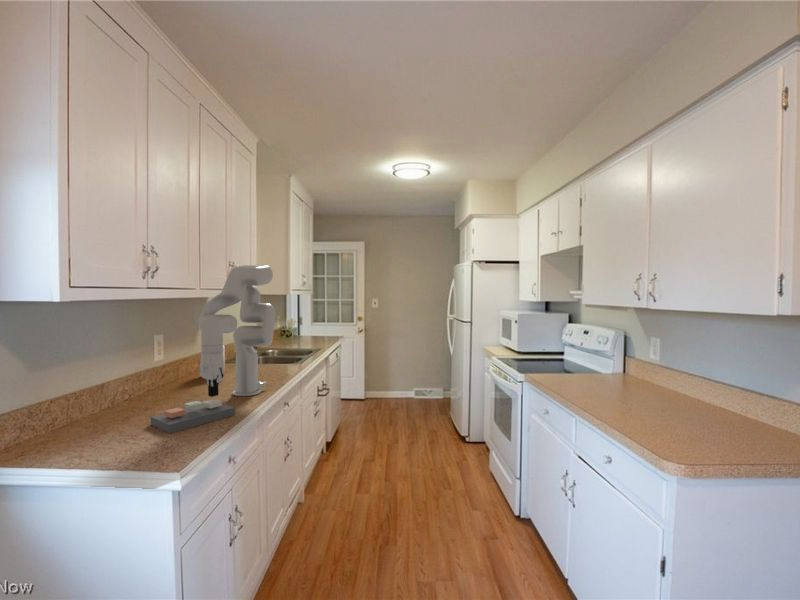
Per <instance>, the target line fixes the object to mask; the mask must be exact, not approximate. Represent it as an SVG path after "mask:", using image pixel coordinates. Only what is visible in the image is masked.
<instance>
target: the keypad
mask: <svg viewBox="0 0 800 600" xmlns="http://www.w3.org/2000/svg"><path fill="white" fill-rule="evenodd" d="M183 409H184V410H185V415H182V416H178V417H174V418H169V417H166V416H164V413H162V414H161V413H160V414H157V415H151V416H150V426H151V425H153V426H152V427H154V426H155V427H154V428H156V427H157V428H156V429H158V428H160V429H162V430H161V431H163V430H164V431H163V432H165V431H166V432H165V433H167V432H168V433H167V434H173V433H177V432H180V431H183V430H182V429H184V430H187V429H186V428H188V429H190V427H191V428H194V427H193V426H195V427H197V425H198V426H201V424H202V425H205V424H209V423H212V421H213V422H216V421H219V419H220V420H223V419H227V418H230V417H234V416H235V415H236V411H235V410H236V407H233V406H230V405H227V404H224V403H222V406H218V407H214V408H210V409H209V408H206V407H204V408H200V409H196V410H192V411H190V410H187V409H185V408H183ZM233 415H234V416H233ZM229 416H230V417H229ZM226 417H227V418H226ZM222 418H223V419H222ZM215 420H216V421H215ZM160 429H159V430H160ZM179 430H180V431H179ZM176 431H177V432H176ZM172 432H173V433H172Z"/></svg>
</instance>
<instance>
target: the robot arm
mask: <svg viewBox="0 0 800 600" xmlns="http://www.w3.org/2000/svg"><path fill="white" fill-rule="evenodd" d="M226 277H227V278H226V279H225V283H224V286H223V287H222V290H221V292H220V293H219V294H216V296H214V297H213V298H211V299H210V300H208V301H207V302H206V303H205V304H204V305H203V308H202V310H201V312H200V315H199V317H198V322H197V326H198V329H199V331H200V340H201V341H200V344H201V346H200V349H201V350H200V351H202V353H200V359H199V361H200V363H199V376H200V377H201V378H203V379H204V380H206V385H207V394H208V397H209V398H212V397H216V396H217V397H218V396H219V385H220V383H223V379H224V377H225V371H224V359H223V353H222V352H223V345H224V341H223V340H224V338H223V337H224V336H223V334H231V333H233V334H232V335H233V343H234V349H235V389H234V390H233V391H232V392H231V393H232V396H234V395H235V396H234V397H250V396H256V395H259V394H261V393H262V389H261V388H262V387H266V386H267V381H262V382H261V381H259V380H258V379H259V377H258V376H259V375H258V373H259V372H258V371H259V370H258V369H259V368H258V365H259V364H258V360H259V359H258V353H257V350H256V349H255V348H254V347H269V346H271V345H272V343H273V339H274V331H275V330H274V329H275V323H276V322H275V321H276V311H275V307H274V305H272V304H271V303H267V302H266V303H263V302H261V297H262V296H261V295H262V294H261V292H260V289H259V288H258V287H257V286H264V285H267V284H268V285H269V283H271V281H272V280H273V277H274V273H273V270H272V268H271V267H270V266H269V265H262V264H261V265H259V264H257V265H252V264H251V265H249V264H245V265H239V266H236V267H235V266H234V267H233V268H231V270H230V271H229V273H228V274H227V276H226ZM239 303H240V310H239V320H240V321H241V322H242V323H245V324H261V325H239V326H238V320H237V318H236V317H235V316H234V315H231V314H217V313H218V312H220V311H221V310H223V309H225V308H228V307H231V306H233V305H236V304H239Z"/></svg>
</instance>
